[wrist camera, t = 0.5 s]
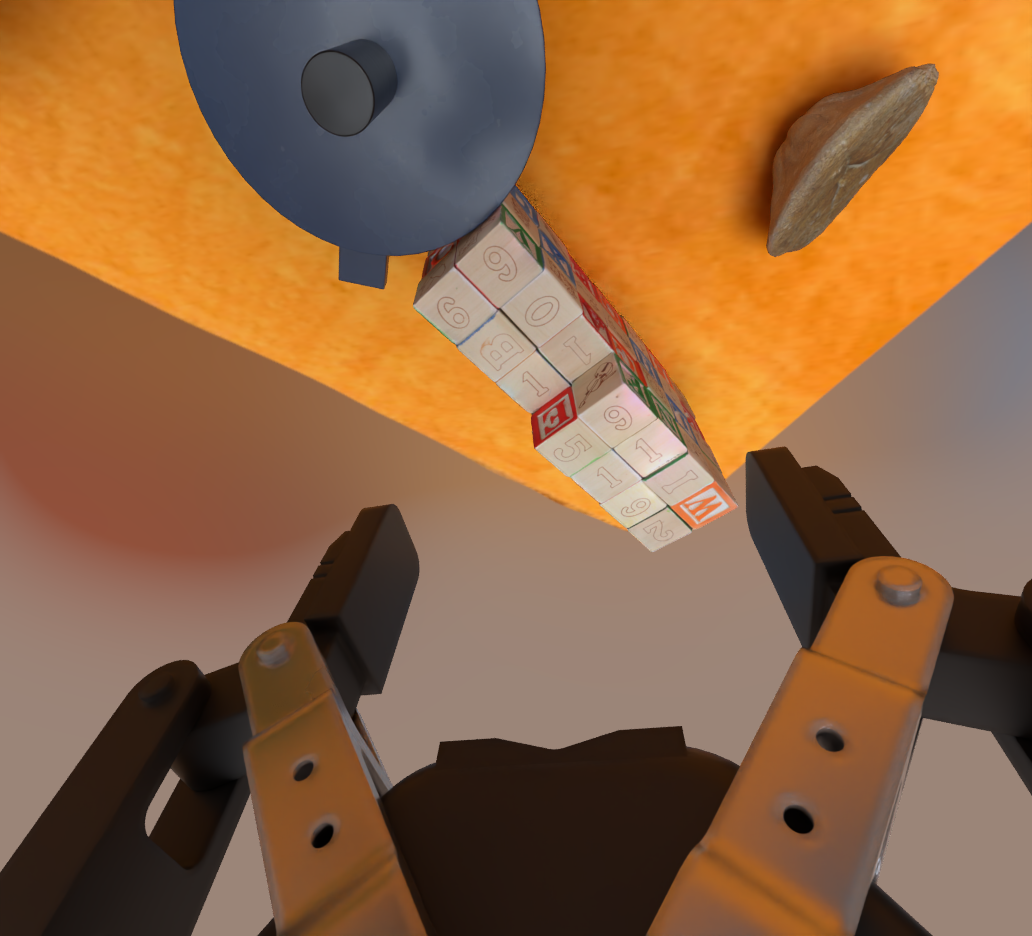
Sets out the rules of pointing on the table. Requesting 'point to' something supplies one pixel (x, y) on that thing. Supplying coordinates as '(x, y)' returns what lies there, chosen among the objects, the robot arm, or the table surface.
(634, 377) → the stack of blocks
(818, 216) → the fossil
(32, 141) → the table surface
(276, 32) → the lid
